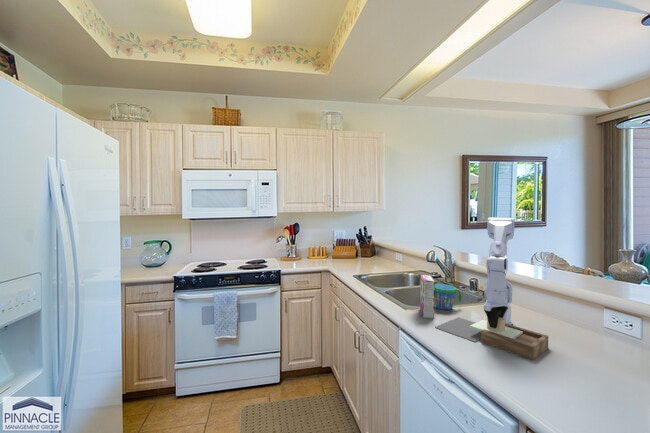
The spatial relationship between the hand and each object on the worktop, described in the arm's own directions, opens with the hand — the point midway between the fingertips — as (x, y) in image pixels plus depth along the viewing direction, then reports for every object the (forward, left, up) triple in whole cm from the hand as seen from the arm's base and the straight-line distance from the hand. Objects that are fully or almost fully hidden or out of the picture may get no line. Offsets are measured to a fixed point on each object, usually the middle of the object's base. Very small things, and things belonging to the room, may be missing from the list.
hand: (495, 326), depth 110 cm
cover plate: (0, 0, -2) cm, 2 cm away
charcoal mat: (0, -11, -4) cm, 12 cm away
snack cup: (-16, -30, -5) cm, 34 cm away
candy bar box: (-2, -30, -5) cm, 30 cm away
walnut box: (0, +6, -4) cm, 8 cm away
